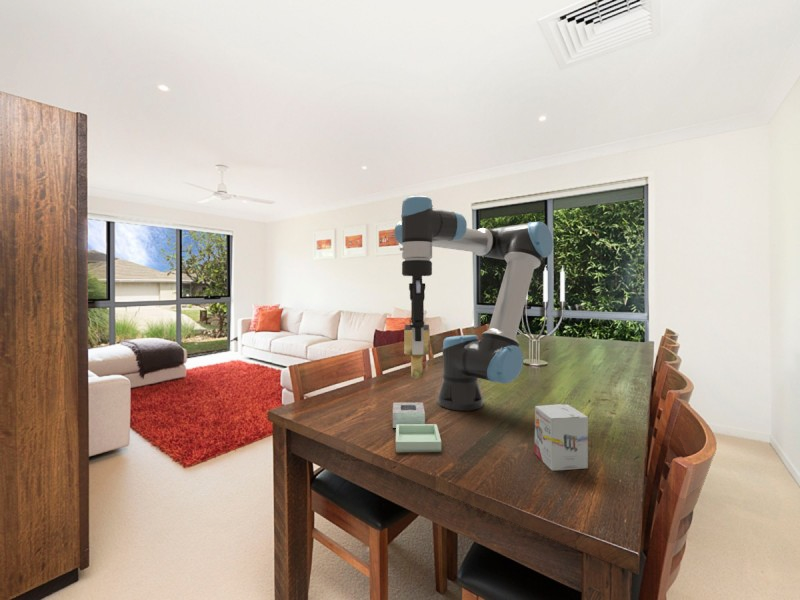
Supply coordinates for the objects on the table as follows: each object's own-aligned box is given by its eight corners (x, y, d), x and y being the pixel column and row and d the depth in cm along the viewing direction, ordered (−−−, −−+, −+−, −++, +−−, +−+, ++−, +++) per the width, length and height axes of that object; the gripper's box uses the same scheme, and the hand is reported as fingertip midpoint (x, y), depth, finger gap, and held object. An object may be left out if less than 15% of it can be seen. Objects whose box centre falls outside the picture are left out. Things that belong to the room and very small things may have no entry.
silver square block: (422, 417, 109) (422, 402, 109) (424, 428, 100) (424, 413, 100) (393, 417, 109) (393, 402, 109) (392, 428, 100) (392, 413, 100)
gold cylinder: (404, 373, 94) (404, 323, 94) (428, 373, 94) (428, 323, 94) (404, 379, 88) (404, 326, 87) (430, 379, 88) (430, 326, 87)
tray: (436, 433, 97) (436, 424, 97) (441, 452, 86) (441, 441, 86) (396, 433, 97) (396, 424, 97) (395, 452, 86) (395, 442, 86)
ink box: (533, 452, 86) (533, 404, 85) (567, 451, 87) (568, 402, 86) (551, 471, 77) (551, 417, 77) (589, 469, 78) (589, 415, 78)
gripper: (401, 262, 100) (402, 345, 101) (402, 257, 80) (402, 359, 81) (428, 262, 100) (428, 345, 101) (435, 257, 80) (435, 359, 81)
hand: (417, 351), depth 91 cm, fingers closed on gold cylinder, 6 cm apart
